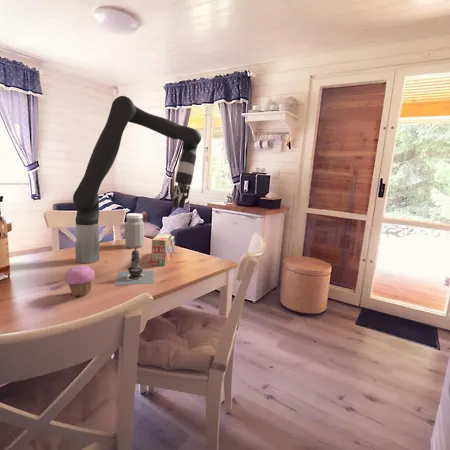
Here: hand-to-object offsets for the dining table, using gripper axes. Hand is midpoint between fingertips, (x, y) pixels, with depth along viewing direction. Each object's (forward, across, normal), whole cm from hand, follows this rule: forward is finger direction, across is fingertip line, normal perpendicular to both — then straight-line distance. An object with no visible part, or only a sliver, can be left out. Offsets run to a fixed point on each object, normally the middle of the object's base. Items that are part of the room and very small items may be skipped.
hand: (177, 207), depth 133 cm
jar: (+24, -37, -7) cm, 44 cm away
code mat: (+32, +10, -15) cm, 36 cm away
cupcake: (+38, +19, -34) cm, 54 cm away
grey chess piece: (+32, +10, -15) cm, 37 cm away
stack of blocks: (+26, -10, +2) cm, 28 cm away
